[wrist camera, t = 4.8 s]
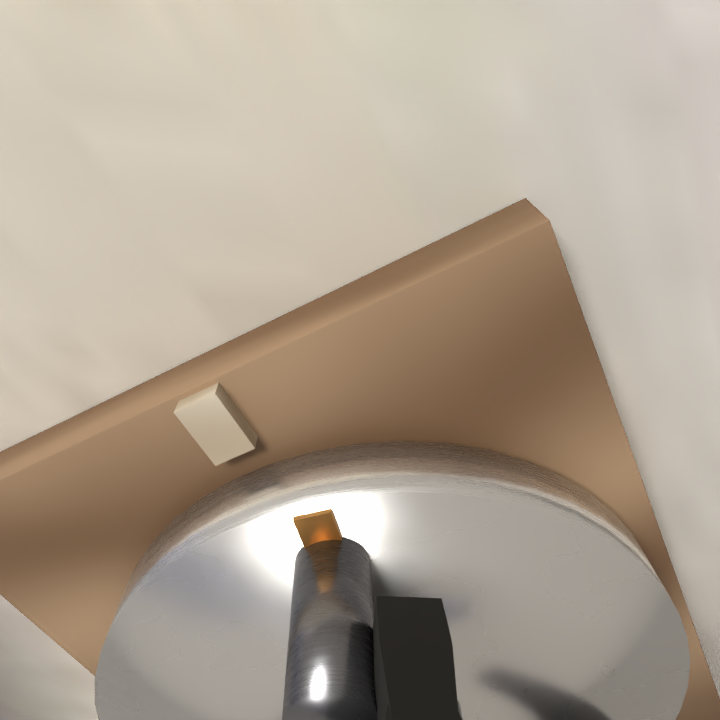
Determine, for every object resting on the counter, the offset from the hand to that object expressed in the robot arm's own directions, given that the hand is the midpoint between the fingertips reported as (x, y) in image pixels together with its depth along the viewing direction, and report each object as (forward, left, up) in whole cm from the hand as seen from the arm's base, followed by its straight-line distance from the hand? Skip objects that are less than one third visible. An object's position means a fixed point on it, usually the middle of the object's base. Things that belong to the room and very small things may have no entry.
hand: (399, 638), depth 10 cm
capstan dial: (+4, -2, -3) cm, 6 cm away
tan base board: (+4, -2, -5) cm, 7 cm away
